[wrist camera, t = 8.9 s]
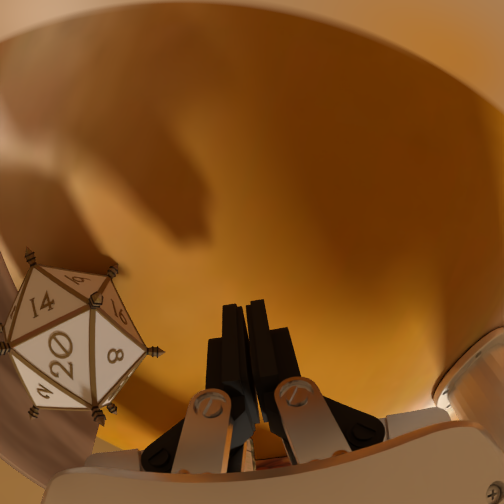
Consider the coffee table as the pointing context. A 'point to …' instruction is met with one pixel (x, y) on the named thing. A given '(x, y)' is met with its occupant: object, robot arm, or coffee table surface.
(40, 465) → the walnut board
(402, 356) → the coffee table surface
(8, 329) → the game die
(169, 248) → the coffee table surface
